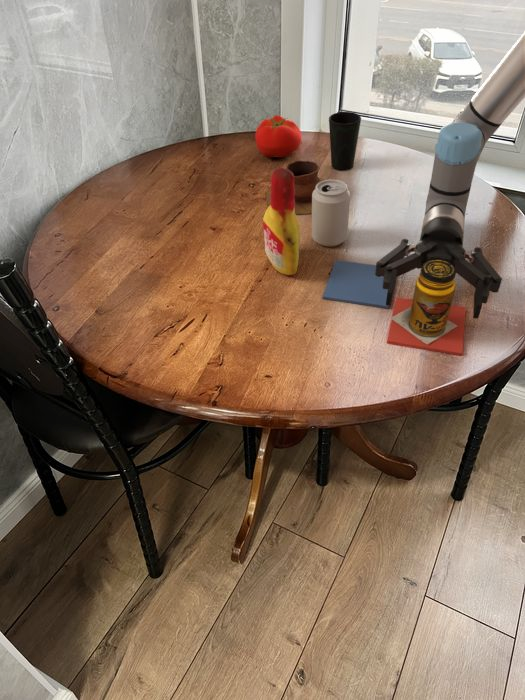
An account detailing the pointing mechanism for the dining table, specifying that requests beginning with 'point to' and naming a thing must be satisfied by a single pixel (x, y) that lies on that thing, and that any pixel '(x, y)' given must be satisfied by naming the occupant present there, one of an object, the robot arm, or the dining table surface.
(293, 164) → the ceramic pot
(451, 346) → the mat red
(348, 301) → the mat blue
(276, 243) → the bottle
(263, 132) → the tomato
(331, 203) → the can
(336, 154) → the cup
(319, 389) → the dining table surface
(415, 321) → the condiment
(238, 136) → the dining table surface
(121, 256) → the dining table surface
